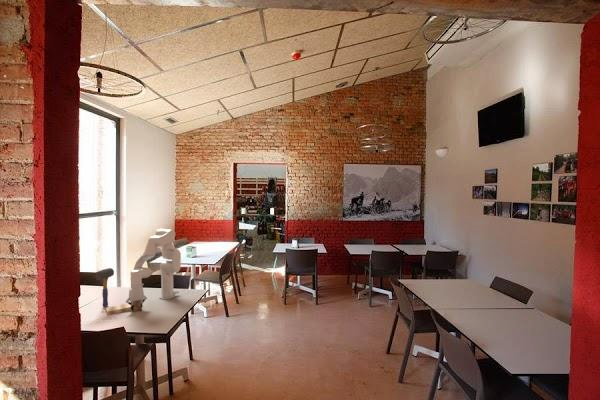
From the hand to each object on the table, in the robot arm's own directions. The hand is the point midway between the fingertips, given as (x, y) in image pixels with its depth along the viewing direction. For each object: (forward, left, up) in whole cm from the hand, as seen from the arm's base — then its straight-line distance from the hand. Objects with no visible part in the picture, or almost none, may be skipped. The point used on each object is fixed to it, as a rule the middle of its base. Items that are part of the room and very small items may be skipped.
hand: (136, 309), depth 247 cm
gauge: (0, -4, -1) cm, 5 cm away
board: (+8, -8, -1) cm, 11 cm away
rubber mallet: (+19, -24, -1) cm, 31 cm away
